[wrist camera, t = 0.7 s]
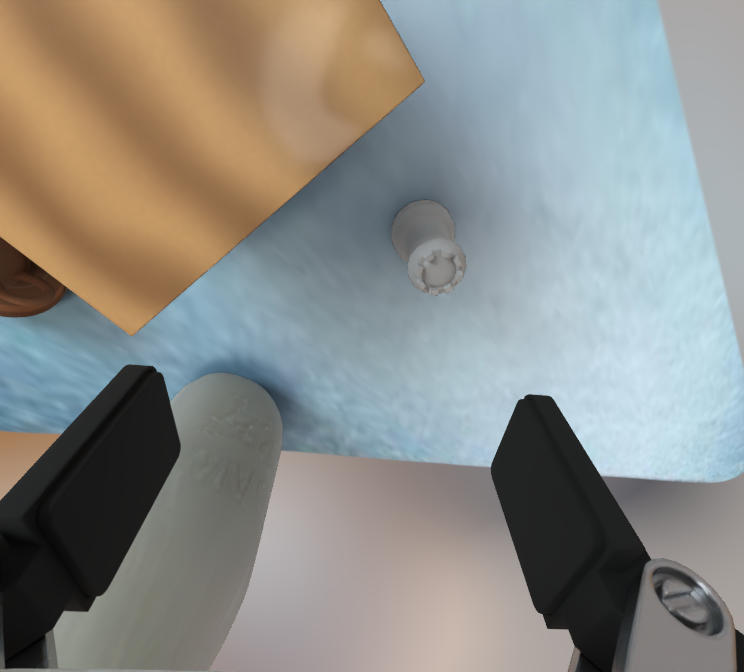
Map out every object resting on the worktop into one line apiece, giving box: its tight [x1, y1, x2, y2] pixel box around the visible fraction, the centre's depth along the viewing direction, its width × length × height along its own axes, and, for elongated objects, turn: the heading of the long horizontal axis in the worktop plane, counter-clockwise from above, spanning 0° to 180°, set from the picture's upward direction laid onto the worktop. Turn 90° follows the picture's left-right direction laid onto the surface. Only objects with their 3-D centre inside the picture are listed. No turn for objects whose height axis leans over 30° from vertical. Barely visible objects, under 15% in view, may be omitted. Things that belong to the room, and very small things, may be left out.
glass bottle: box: [53, 373, 283, 671], centre depth 23 cm, size 10×10×28 cm
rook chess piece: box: [391, 199, 466, 296], centre depth 23 cm, size 4×4×8 cm
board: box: [0, 0, 425, 336], centre depth 14 cm, size 18×14×1 cm
